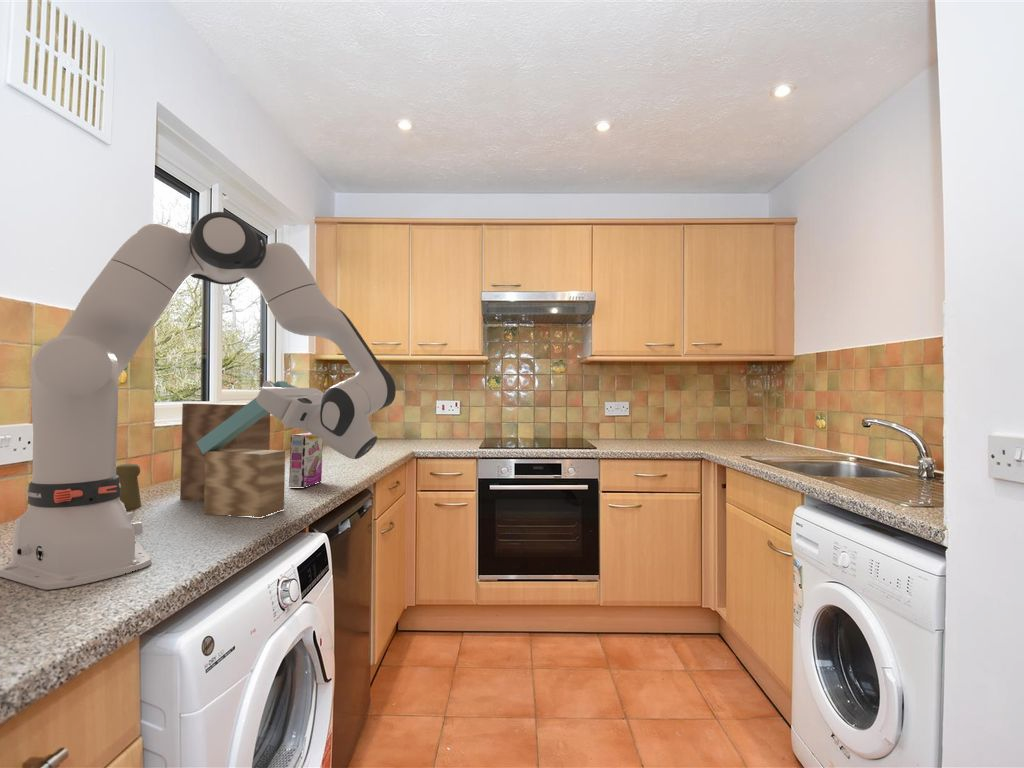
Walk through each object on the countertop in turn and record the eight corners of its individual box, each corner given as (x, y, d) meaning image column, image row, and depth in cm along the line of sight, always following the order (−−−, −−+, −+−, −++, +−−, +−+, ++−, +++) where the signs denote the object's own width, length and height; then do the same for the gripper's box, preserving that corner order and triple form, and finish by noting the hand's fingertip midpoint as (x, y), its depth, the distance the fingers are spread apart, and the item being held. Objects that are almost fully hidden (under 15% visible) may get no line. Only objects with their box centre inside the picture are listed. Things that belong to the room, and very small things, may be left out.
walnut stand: (268, 494, 141) (270, 403, 142) (235, 503, 130) (238, 404, 130) (216, 490, 145) (218, 402, 146) (180, 499, 134) (182, 403, 134)
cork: (115, 512, 119) (116, 466, 119) (107, 508, 123) (108, 464, 123) (144, 507, 124) (146, 464, 124) (136, 504, 128) (138, 461, 128)
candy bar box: (303, 489, 149) (304, 435, 149) (288, 488, 150) (289, 434, 150) (322, 482, 160) (323, 432, 160) (308, 482, 161) (309, 431, 161)
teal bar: (294, 393, 120) (287, 382, 121) (285, 393, 117) (277, 381, 117) (213, 453, 123) (207, 441, 123) (202, 454, 119) (196, 442, 120)
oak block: (283, 511, 123) (285, 450, 123) (260, 519, 115) (261, 454, 115) (230, 506, 126) (231, 448, 127) (203, 514, 119) (205, 451, 119)
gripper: (346, 400, 126) (306, 373, 129) (293, 402, 106) (247, 370, 109) (335, 421, 127) (295, 394, 130) (280, 427, 107) (234, 394, 110)
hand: (272, 383), depth 119 cm, fingers closed on teal bar, 4 cm apart
